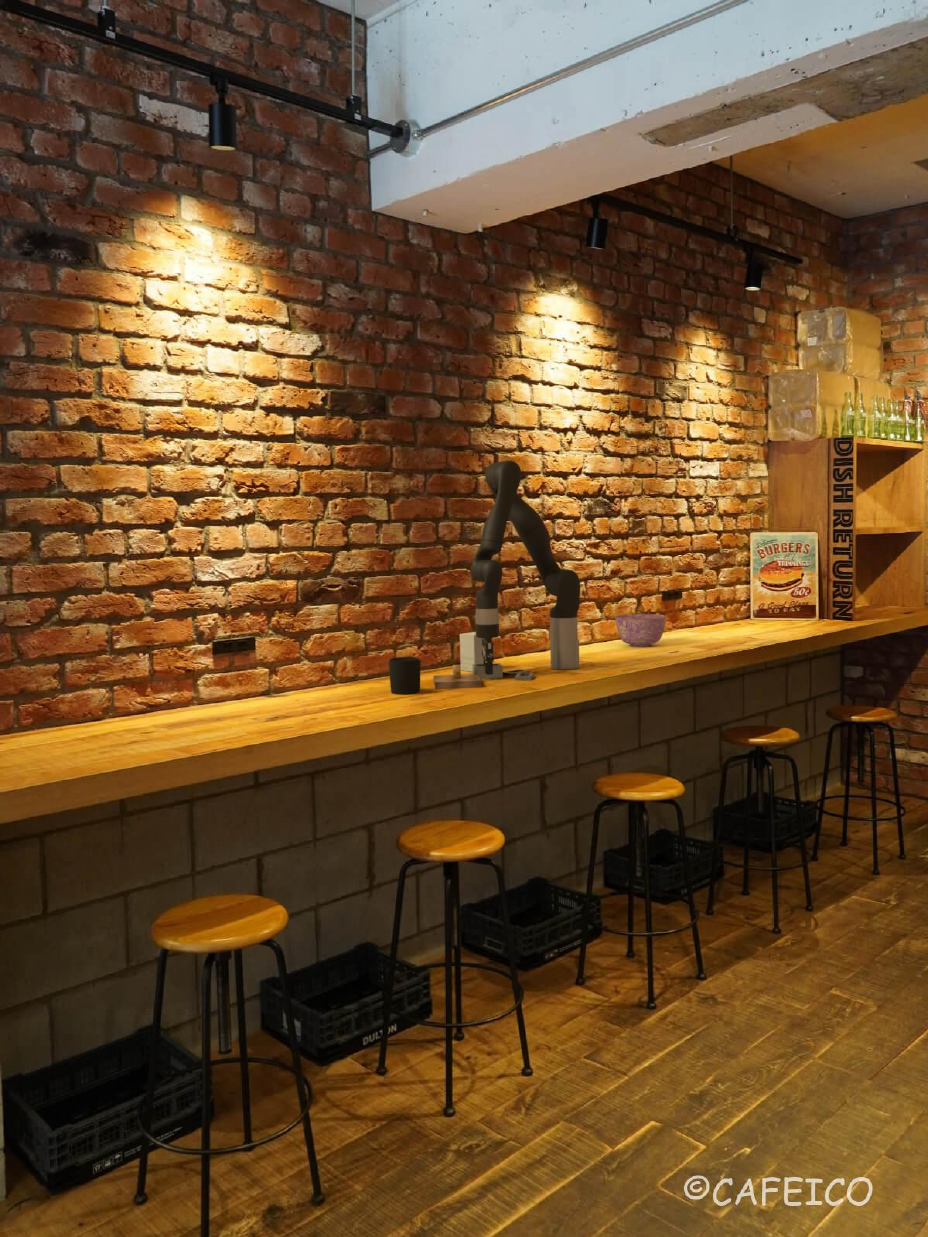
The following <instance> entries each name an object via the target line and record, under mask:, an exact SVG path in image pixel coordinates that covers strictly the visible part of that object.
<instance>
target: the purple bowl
mask: <svg viewBox="0 0 928 1237" xmlns="http://www.w3.org/2000/svg"><path fill="white" fill-rule="evenodd" d="M614 620H615V624H616V629H617V632H618V635H619V638H620V639H621V641H622V642H623V643H624V644H627V645H629V646H630V647H631V648H632V647H633V648H647V647H648V648H649V647H652V645H654V644H656V643H658V642H659V641H660V640H661V638H662V637H663V633H664V630H665V626H666V620H667V616H666V615H663V614H651V613H650V614H647V613H642V614H641V613H640V614H639V613H637V614H634V613H633V614H621V615H615V616H614Z"/></svg>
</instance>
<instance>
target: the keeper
mask: <svg viewBox="0 0 928 1237" xmlns="http://www.w3.org/2000/svg"><path fill="white" fill-rule="evenodd" d="M432 677H433V686H434V689H435V690H438V689H439V690H441V689H443V690H444V689H445V690H446V689H470V688H471V689H472V688H473V689H474V688H475V689H476V688H482V686H483V683H482V679H480V677H479V676H478V674H473V673H472V674H471V673H470V674H462V671H461V664H453V665H452V674H444V675H442V674H441V675H433V676H432Z"/></svg>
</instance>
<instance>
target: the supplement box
mask: <svg viewBox="0 0 928 1237" xmlns="http://www.w3.org/2000/svg"><path fill="white" fill-rule="evenodd" d="M482 639H483V638H477V637H476V631H472V632H464V633H460V634H459V652H460V653H459V655H460V656H459V657H460V666H461V672H470V673H473V668H472V664H483V660H484V659H483V658H482V657H483V656H482V648H481V643H482Z"/></svg>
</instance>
